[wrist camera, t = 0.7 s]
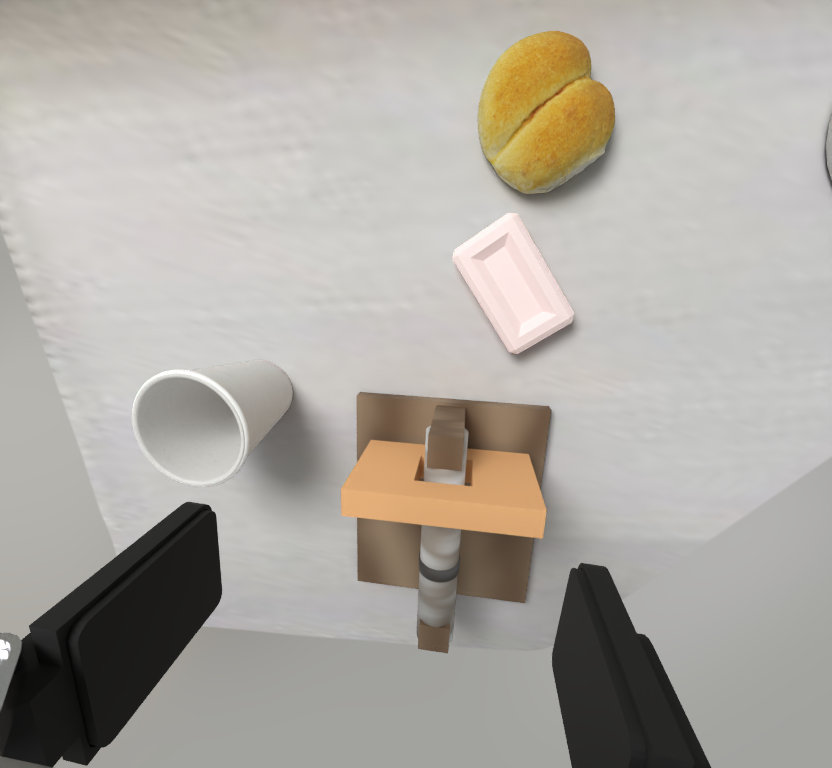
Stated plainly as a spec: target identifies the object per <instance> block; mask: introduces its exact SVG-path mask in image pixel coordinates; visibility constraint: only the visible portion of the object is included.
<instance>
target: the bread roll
mask: <svg viewBox="0 0 832 768" xmlns="http://www.w3.org/2000/svg"><path fill="white" fill-rule="evenodd" d="M590 73H591V59H590V55H589V51H588V49H587V47H586V46H585V45H584V43H583V42H582V41H581V40H579V39H578V38H576V37H575V36H573V35H570V34H567V33H564V32H560V31H548V32H542V33H538V34H535V35H532V36H529V37H526V38H524V39H522V40H520V41H518V42H517V43H515V44H514V45H512V46H511V47H510V48H509V49H508V50H506V51H505V52H504V53H503V54H502V55H501V56H500V57H499V58H498V60H497V61H496V63H495V64H494V66H493V67H492V69H491V71H490V73H489V75H488V77H487V79H486V82H485V84H484V87H483V90H482V94H481V97H480V102H479V109H478V133H479V139H480V144H481V147H482V150H483V153H484V155H485V156H486V158H487V160H488V161H489V162H490V163H491V164H492V166H493V168H494V169H495V171H496V172H497V174H498V175H499V177H500V178H501V179H502V180H503V181H504V182H506V183H507V184H508V185H510V186H511V187H512V188H514V189H517V190H518V191H520V192H522V193H526V194H536V193H547V192H549V191H551V190H553V189H555V188H556V187H558V186H560V185H562V184H563V183H565V182H567V181H568V180H570V179H571V178H572V177H573V176H574V175H577V174H579V173H580V172H581V171H583V170H584V169H585V167H587V166H588V165H589V164H591V163H593V162H594V161H595V160H596V159H597V158H599V157H600V156H602V155H603V154H604V153H605V147H606V144H607V142H608V140H609V138H610V136H611V134H612V131H613V128H614V123H615V108H614V102H613V98H612V95H611V93H610V92H609V91H608V89H607V88H606V87H605V86H604V85H603V84H601V83H600V82H597V81H594V80H592V79H591V77H590Z"/></svg>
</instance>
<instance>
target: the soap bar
mask: <svg viewBox="0 0 832 768" xmlns="http://www.w3.org/2000/svg"><path fill="white" fill-rule="evenodd" d="M452 259H453V261H454V263H455V264H456V266H457V268H458V269H459V271H460V273H461V274H462V276H463V277H464V279H465V281H466V282H467V284H468V286H469V287H470V289H471V291H472V292H473V294H474V295H475V297H476V299H477V300H478V302H479V304H480V305H481V307H482V309H483V310H484V312H485V313H486V315H487V317H488V318H489V320H490V322H491V323H492V325H493V327H494V328H495V330H496V331H497V333H498V335H499V336H500V338H501V340H502V341H503V343H504V345H505V346H506V348H507V349H508V351H509V352H510V353H514V354H519V353H520V352H522V351H524V350H526V349H527V348H529V347H531V346H532V345H534V344H536V343H538V342H539V341H541V340H543V339H544V338H546V337H548V336H550V335H551V334H553V333H555V332H556V331H558V330H560V329H562V328H563V327H565V326H567V325H568V324H570V323H572V321H573V317H574V312H573V310H572V308H571V307H570V305H569V303H568V301H567V300H566V298H565V296H564V294H563V293H562V291H561V289H560V287H559V286H558V284H557V282H556V280H555V279H554V277H553V275H552V273H551V272H550V270H549V268H548V266H547V265H546V263H545V261H544V259H543V258H542V256H541V254H540V252H539V251H538V249H537V247H536V245H535V244H534V242H533V240H532V238H531V237H530V235H529V233H528V231H527V230H526V228H525V226H524V224H523V223H522V221H521V219H520V217H519V216H518V214H514V213H507V214H506V215H504V216H503V217H501V218H500V219H498V220H497V221H496V222H494V223H493V224H491V225H490V226H488V227H487V228H485V229H484V230H483V231H481V232H480V233H478V234H477V235H475V236H474V237H472V238H471V239H470V240H468V241H467V242H465V243H464V244H462V245H461V246H459V247H458V248H456V249H455V250H454V253H453V258H452Z"/></svg>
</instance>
